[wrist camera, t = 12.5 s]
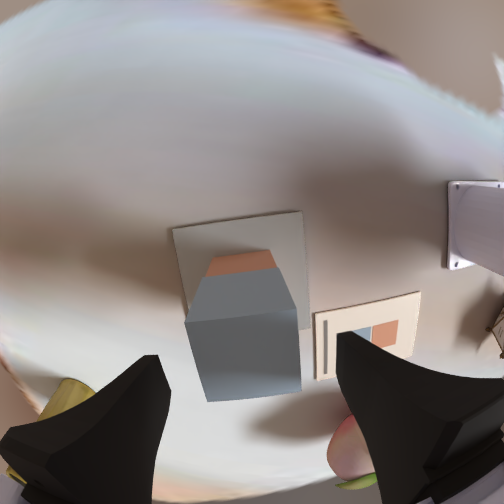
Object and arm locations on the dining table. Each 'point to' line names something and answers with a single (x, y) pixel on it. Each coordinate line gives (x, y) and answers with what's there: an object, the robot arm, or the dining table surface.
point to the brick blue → (245, 336)
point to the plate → (246, 241)
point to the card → (368, 329)
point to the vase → (59, 408)
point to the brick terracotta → (241, 263)
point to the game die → (499, 331)
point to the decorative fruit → (351, 456)
